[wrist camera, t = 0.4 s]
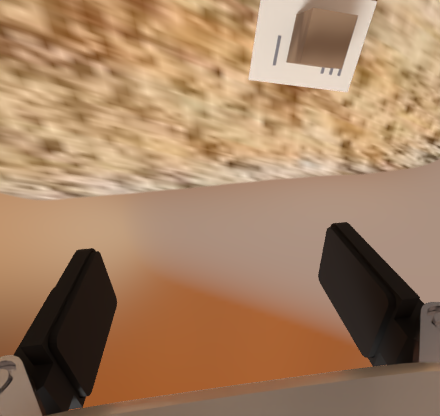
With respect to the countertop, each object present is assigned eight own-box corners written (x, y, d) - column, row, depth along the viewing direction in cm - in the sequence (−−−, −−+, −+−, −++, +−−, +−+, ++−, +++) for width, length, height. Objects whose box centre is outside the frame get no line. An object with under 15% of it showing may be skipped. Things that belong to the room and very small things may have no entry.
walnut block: (296, 14, 31) (313, 7, 27) (335, 20, 32) (358, 15, 27) (286, 62, 33) (300, 63, 29) (322, 67, 34) (341, 69, 30)
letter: (263, -20, 29) (263, -20, 29) (376, 1, 31) (377, 1, 31) (248, 79, 34) (248, 79, 34) (346, 92, 36) (347, 92, 36)
